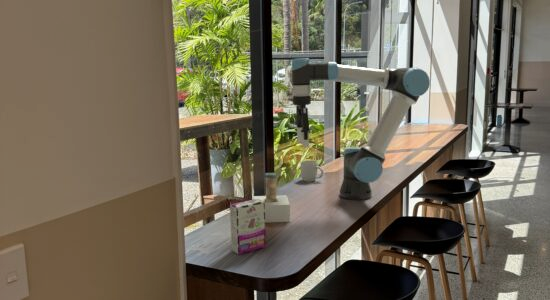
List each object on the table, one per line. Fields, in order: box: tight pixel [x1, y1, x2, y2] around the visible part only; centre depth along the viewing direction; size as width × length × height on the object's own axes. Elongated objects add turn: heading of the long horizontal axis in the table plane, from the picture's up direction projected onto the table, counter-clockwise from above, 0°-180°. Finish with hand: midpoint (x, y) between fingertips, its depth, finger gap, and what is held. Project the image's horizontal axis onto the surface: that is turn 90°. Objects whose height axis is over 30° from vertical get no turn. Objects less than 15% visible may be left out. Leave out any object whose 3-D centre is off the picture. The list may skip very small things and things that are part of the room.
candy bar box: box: [229, 199, 267, 255], centre depth 164 cm, size 11×5×16 cm, turn 126°
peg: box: [265, 172, 277, 202], centre depth 199 cm, size 4×4×18 cm
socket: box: [252, 194, 291, 223], centre depth 200 cm, size 14×14×7 cm
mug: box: [300, 160, 324, 183], centre depth 262 cm, size 13×9×10 cm
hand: (303, 144), depth 211 cm, fingers open, 13 cm apart
